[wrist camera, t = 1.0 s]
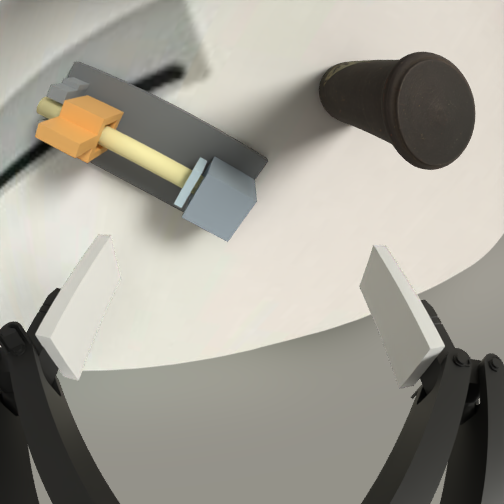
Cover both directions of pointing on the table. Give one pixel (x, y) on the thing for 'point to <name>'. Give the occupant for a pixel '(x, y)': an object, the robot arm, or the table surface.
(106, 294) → the robot arm
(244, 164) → the cord rig
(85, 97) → the sleeve
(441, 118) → the container
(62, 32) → the table surface
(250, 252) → the table surface
